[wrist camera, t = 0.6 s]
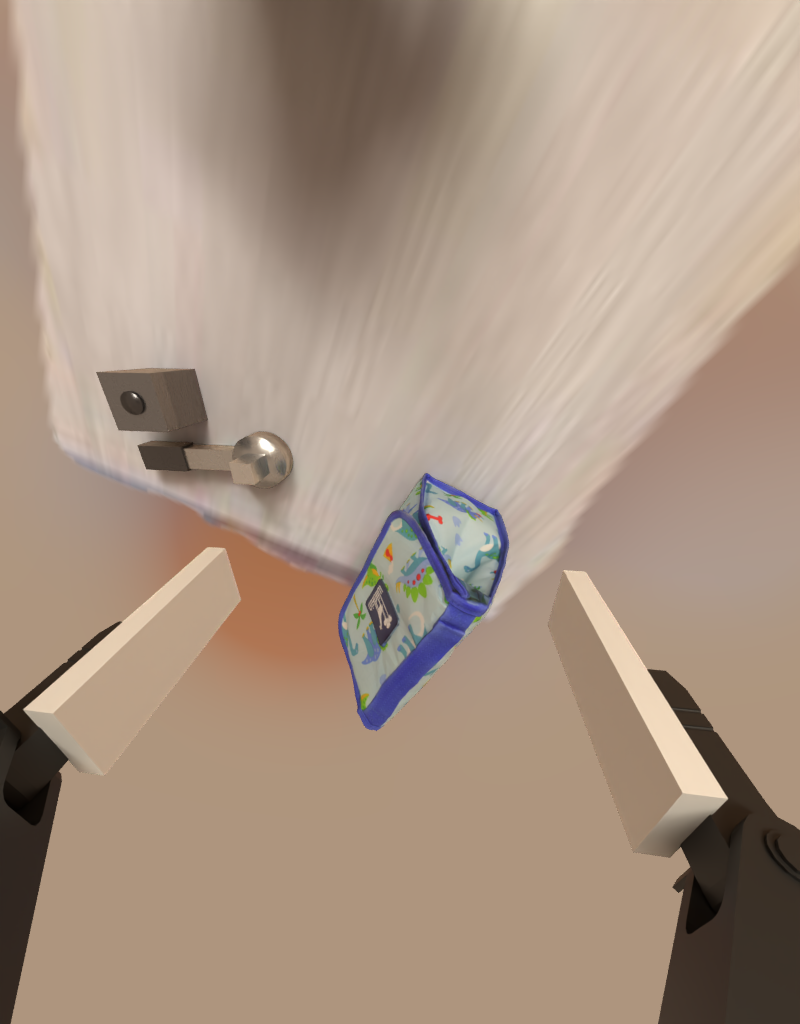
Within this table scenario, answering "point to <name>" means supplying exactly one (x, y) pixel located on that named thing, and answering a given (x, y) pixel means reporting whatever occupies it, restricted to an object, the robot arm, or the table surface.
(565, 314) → the table surface
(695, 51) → the table surface
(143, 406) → the grey square block
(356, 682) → the lunch bag
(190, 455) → the chrome ball-end bar
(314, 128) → the table surface
